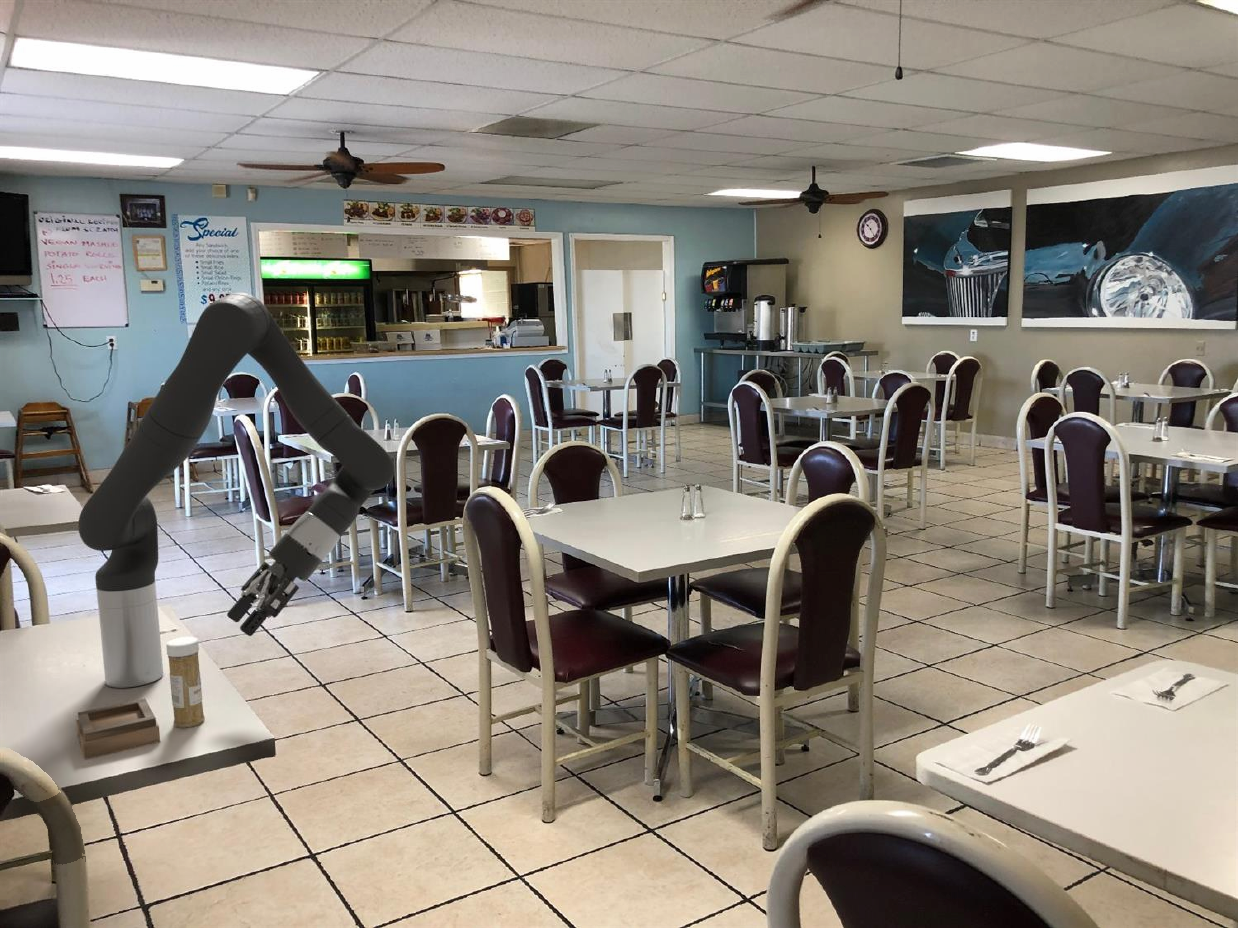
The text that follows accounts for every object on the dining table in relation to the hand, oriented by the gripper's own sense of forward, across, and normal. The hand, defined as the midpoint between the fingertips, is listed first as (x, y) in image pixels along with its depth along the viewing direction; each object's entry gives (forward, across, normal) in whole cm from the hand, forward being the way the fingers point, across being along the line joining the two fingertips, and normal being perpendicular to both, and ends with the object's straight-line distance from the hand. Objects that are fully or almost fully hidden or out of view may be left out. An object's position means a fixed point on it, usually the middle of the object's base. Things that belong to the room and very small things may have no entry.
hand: (237, 626), depth 156 cm
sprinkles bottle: (+16, 0, +4) cm, 17 cm away
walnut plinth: (+23, 0, -3) cm, 23 cm away
